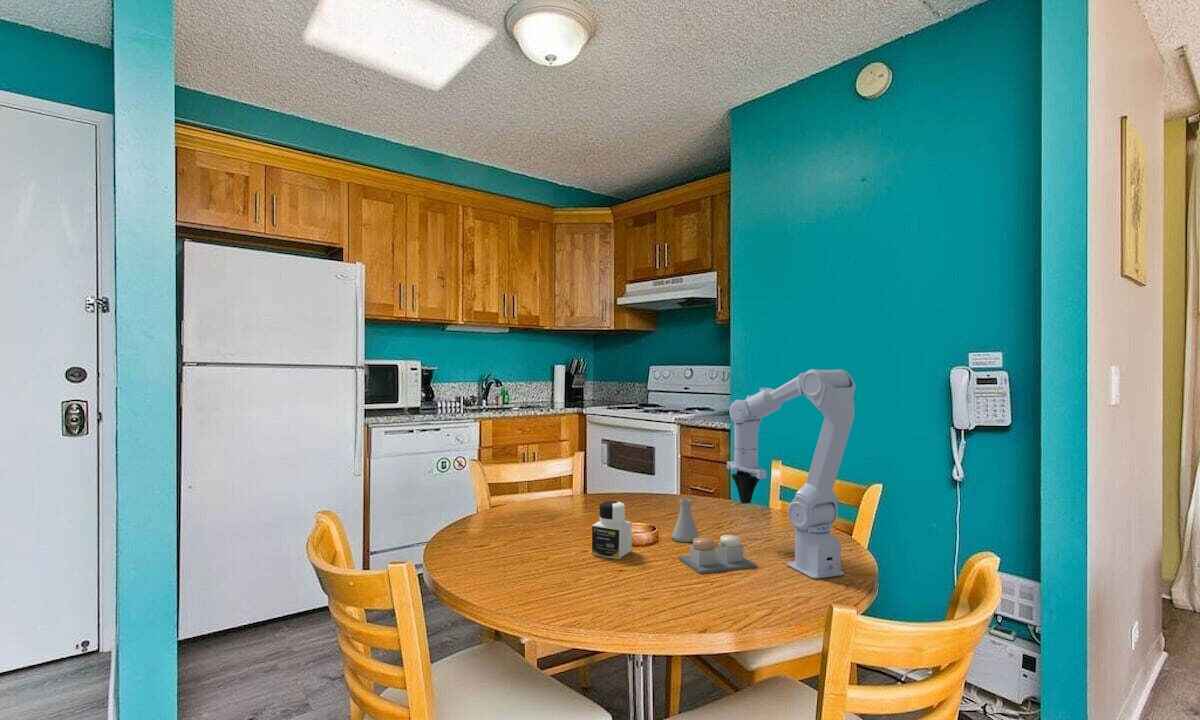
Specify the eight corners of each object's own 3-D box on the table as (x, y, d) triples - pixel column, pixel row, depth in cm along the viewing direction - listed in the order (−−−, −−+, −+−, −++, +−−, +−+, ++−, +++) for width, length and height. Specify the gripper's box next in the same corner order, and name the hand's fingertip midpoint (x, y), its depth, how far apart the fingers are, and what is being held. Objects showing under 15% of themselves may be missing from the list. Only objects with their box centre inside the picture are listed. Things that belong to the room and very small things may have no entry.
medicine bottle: (591, 555, 139) (591, 503, 139) (605, 546, 145) (605, 497, 145) (618, 559, 135) (619, 507, 136) (631, 551, 142) (632, 501, 142)
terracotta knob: (716, 562, 131) (716, 542, 131) (698, 564, 130) (699, 544, 130) (706, 556, 135) (706, 536, 135) (689, 558, 134) (689, 538, 134)
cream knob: (744, 559, 133) (744, 539, 134) (726, 561, 132) (727, 541, 132) (733, 553, 138) (733, 534, 138) (716, 555, 136) (716, 535, 136)
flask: (698, 535, 155) (699, 497, 156) (700, 543, 148) (700, 503, 148) (670, 534, 156) (671, 496, 156) (671, 542, 149) (671, 502, 149)
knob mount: (756, 567, 131) (756, 549, 131) (699, 573, 127) (700, 556, 127) (731, 553, 141) (731, 537, 141) (678, 559, 136) (678, 542, 136)
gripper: (716, 445, 153) (716, 497, 153) (748, 453, 140) (748, 510, 140) (740, 444, 156) (740, 495, 156) (773, 451, 142) (773, 508, 142)
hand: (745, 502), depth 148 cm, fingers closed
